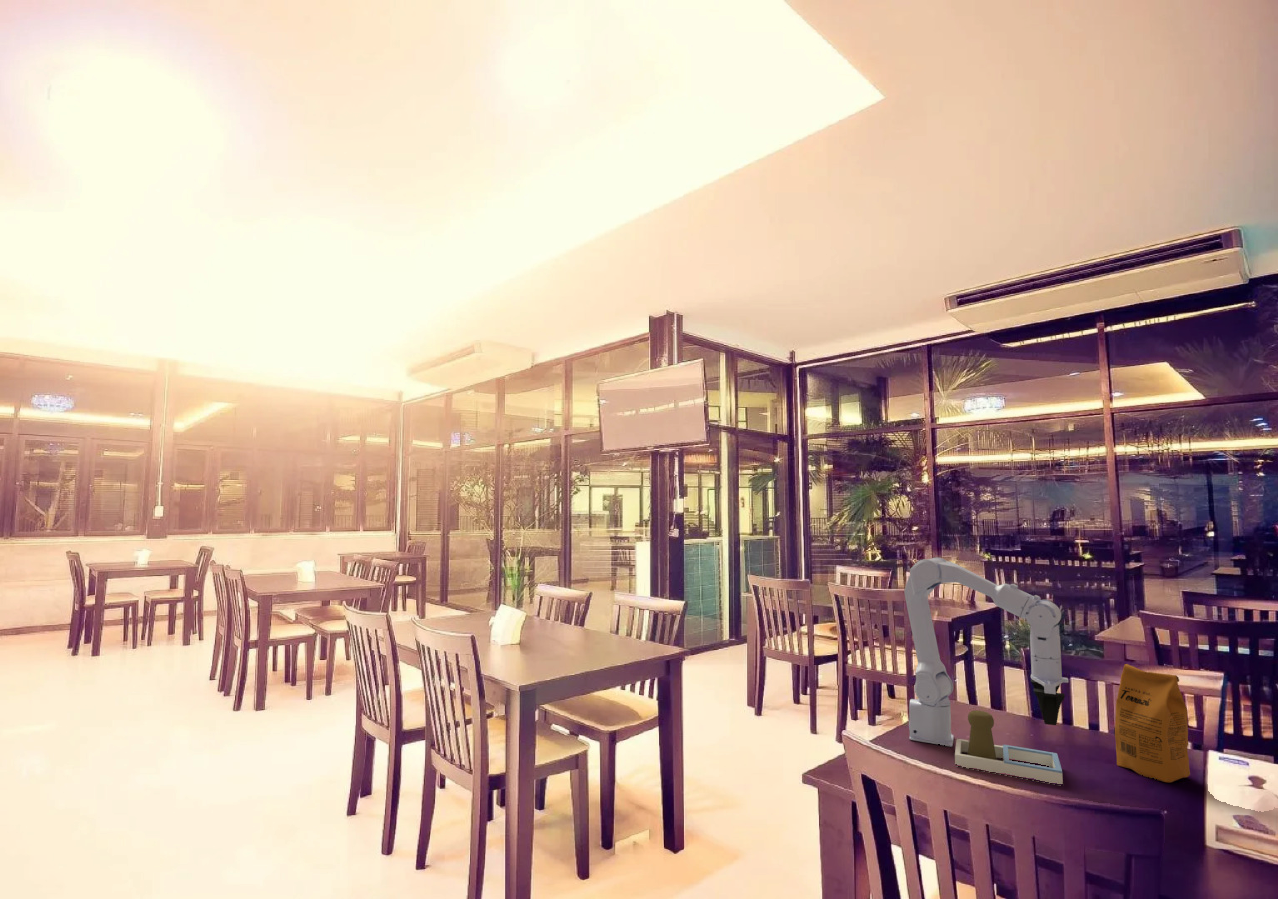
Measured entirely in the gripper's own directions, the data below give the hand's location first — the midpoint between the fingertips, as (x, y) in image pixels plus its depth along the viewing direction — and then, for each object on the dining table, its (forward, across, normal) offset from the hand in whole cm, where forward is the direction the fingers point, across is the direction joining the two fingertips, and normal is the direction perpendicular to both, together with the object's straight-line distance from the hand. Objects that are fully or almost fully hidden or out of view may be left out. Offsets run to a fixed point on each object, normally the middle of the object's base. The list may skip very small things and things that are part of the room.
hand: (1048, 719), depth 143 cm
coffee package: (+11, +9, -20) cm, 24 cm away
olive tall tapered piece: (+11, -3, +13) cm, 17 cm away
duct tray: (+10, -3, +9) cm, 14 cm away
